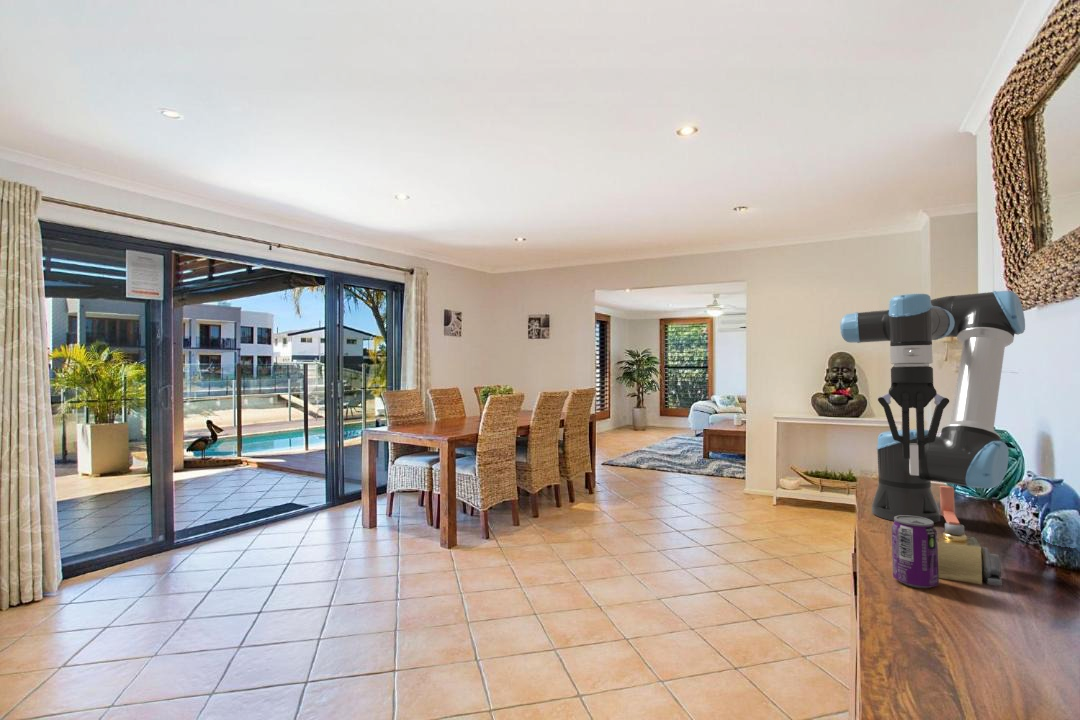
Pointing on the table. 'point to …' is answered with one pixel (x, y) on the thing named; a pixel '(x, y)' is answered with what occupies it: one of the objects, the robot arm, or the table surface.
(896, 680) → the table surface
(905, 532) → the beverage can
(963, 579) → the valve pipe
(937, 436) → the robot arm
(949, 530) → the lever
